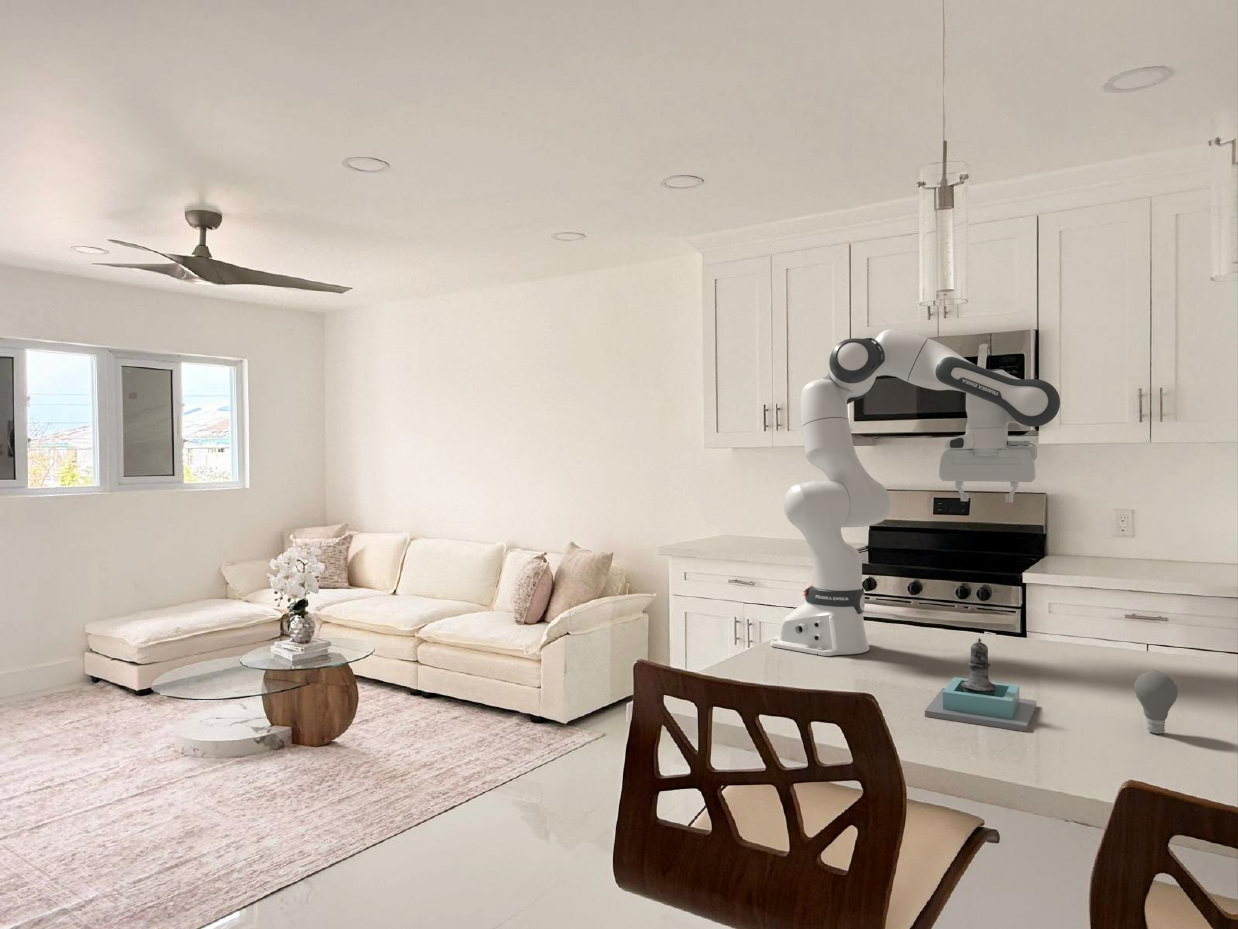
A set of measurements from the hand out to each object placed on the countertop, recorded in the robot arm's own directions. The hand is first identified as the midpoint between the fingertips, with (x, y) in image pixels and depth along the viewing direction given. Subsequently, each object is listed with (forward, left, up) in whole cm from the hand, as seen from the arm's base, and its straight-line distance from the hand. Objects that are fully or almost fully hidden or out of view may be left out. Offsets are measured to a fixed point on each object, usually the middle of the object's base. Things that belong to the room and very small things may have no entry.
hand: (986, 501), depth 194 cm
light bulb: (+32, -47, -34) cm, 66 cm away
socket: (+6, -49, -34) cm, 60 cm away
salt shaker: (+6, -49, -33) cm, 60 cm away
